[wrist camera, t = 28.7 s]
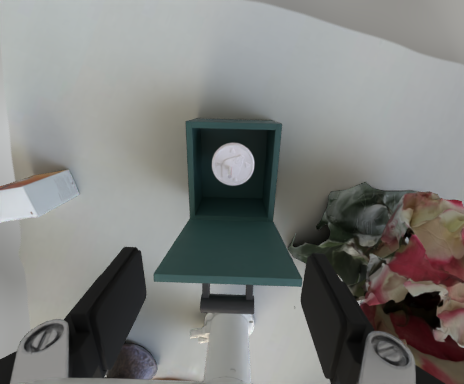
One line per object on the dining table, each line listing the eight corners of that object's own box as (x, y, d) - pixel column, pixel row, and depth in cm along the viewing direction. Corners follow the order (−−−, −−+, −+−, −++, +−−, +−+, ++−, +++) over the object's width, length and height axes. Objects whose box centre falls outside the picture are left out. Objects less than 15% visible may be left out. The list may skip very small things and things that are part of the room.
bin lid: (153, 274, 21) (155, 324, 22) (302, 279, 21) (297, 329, 22) (189, 219, 38) (189, 249, 39) (273, 221, 37) (271, 252, 38)
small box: (70, 168, 45) (23, 185, 35) (80, 194, 47) (39, 217, 37) (32, 174, 46) (-24, 193, 36) (45, 200, 48) (-5, 224, 38)
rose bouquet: (391, 294, 54) (558, 494, 26) (278, 258, 51) (329, 439, 23) (464, 200, 46) (828, 348, 18) (334, 151, 43) (520, 233, 15)
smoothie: (209, 154, 43) (197, 174, 30) (233, 128, 41) (231, 137, 28) (234, 176, 44) (233, 205, 31) (258, 152, 42) (267, 172, 29)
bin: (196, 118, 41) (185, 121, 33) (272, 120, 41) (282, 123, 32) (198, 199, 47) (190, 220, 38) (266, 201, 47) (272, 222, 38)
